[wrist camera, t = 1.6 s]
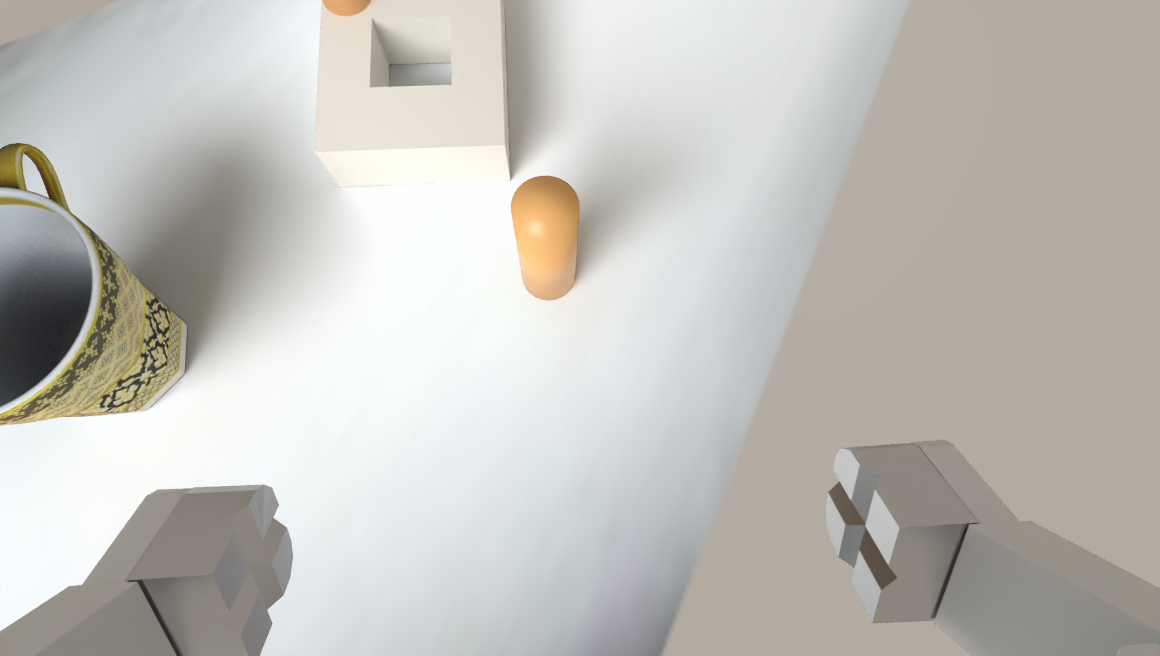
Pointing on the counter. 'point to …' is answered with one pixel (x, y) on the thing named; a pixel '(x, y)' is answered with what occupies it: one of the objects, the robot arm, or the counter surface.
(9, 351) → the ceramic cup
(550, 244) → the pin
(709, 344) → the counter surface
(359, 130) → the housing
